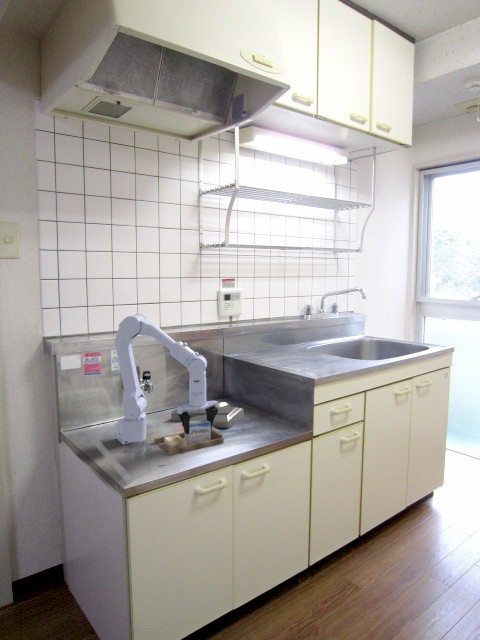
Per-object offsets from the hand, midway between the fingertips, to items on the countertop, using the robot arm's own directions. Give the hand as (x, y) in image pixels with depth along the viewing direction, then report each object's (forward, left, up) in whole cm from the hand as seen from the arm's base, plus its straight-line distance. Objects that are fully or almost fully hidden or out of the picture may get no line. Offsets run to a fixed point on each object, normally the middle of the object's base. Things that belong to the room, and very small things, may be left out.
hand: (198, 430), depth 148 cm
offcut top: (-8, 0, -4) cm, 9 cm away
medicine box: (0, 0, -6) cm, 6 cm away
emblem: (+17, +22, -6) cm, 28 cm away
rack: (-3, 0, -5) cm, 6 cm away
